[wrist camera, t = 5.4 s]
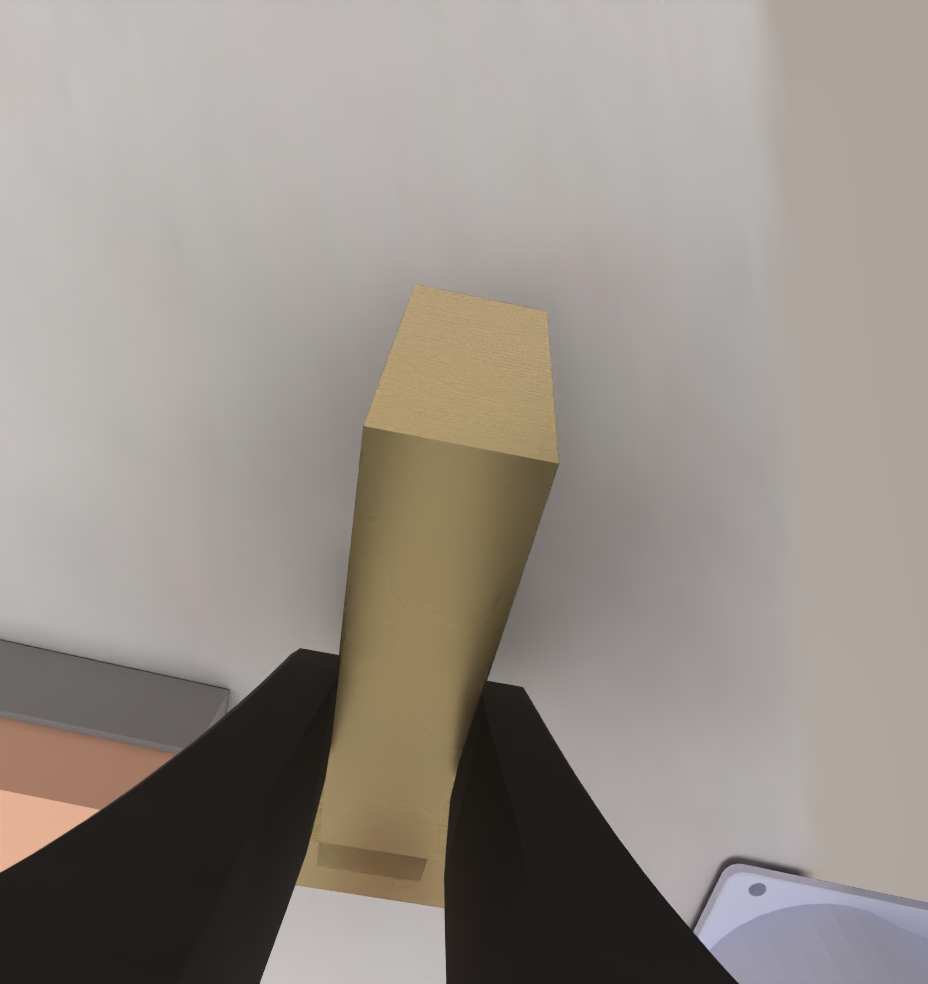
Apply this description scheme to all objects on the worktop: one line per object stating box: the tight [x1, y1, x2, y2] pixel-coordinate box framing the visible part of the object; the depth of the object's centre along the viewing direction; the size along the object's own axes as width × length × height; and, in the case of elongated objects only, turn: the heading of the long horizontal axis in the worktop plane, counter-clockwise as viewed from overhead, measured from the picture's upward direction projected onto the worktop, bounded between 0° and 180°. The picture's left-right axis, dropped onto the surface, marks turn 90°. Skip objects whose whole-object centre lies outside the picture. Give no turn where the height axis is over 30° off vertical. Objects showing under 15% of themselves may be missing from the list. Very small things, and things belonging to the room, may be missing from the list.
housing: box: [0, 640, 229, 754], centre depth 19 cm, size 8×10×2 cm
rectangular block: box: [295, 284, 559, 908], centre depth 10 cm, size 10×4×4 cm, turn 169°
